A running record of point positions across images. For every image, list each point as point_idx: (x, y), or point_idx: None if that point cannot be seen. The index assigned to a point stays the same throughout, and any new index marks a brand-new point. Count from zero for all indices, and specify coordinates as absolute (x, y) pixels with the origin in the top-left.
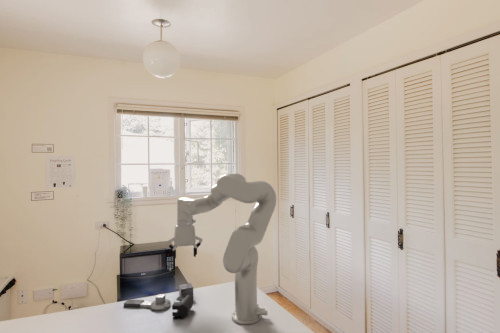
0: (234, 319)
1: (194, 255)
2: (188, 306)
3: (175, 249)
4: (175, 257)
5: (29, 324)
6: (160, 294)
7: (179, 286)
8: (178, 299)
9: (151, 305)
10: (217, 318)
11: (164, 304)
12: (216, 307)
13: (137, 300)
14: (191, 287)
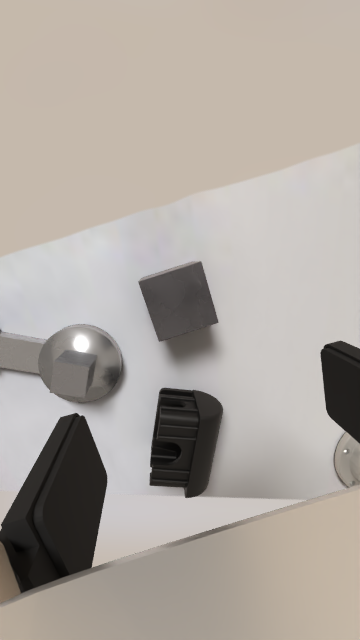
0: (342, 479)
1: (340, 424)
2: (209, 472)
3: (48, 536)
4: (101, 494)
5: None
6: (64, 365)
7: (143, 294)
8: (165, 441)
9: (46, 381)
10: (291, 451)
11: (99, 378)
12: (293, 384)
13: None
14: (209, 323)
